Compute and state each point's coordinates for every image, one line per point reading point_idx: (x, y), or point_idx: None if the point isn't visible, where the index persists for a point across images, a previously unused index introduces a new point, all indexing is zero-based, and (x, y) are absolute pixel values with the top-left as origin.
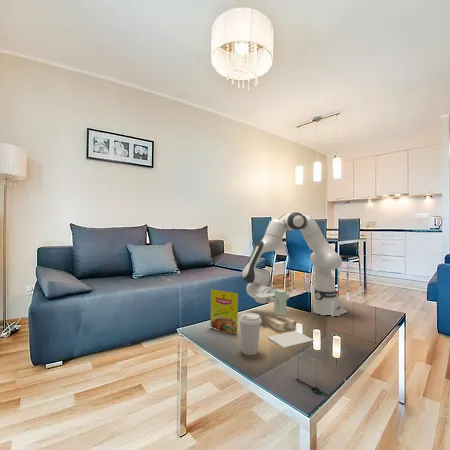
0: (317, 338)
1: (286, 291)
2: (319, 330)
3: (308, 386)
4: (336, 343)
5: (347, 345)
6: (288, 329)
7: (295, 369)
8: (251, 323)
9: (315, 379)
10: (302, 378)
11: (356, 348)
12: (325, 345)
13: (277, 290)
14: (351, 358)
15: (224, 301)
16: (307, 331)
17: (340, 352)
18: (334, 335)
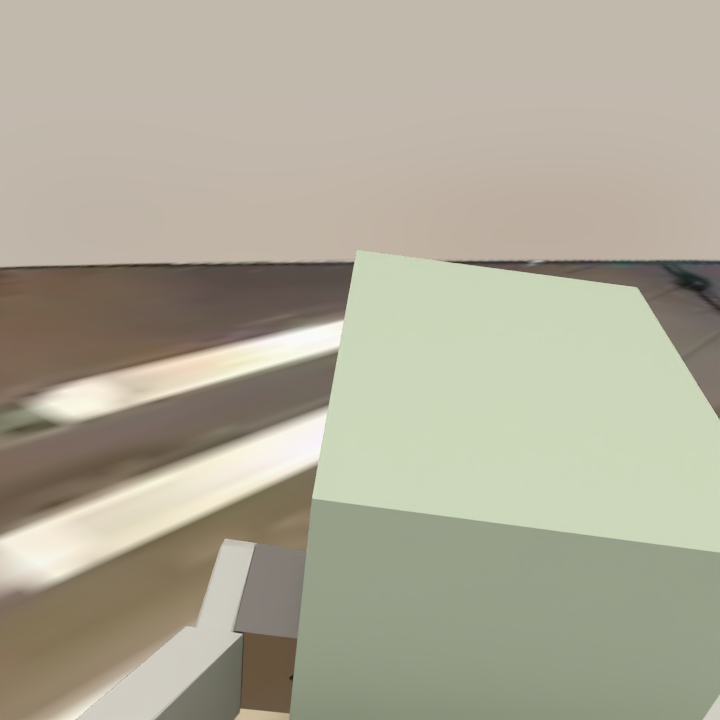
0: (251, 457)
1: (356, 253)
2: (9, 536)
3: (711, 297)
4: (216, 364)
5: (186, 329)
6: None
7: (712, 355)
8: None
9: (654, 300)
10: (710, 320)
11: (187, 300)
12: (320, 384)
13: (638, 446)
14: (341, 286)
15: None
16: (157, 588)
17: (328, 321)
18: (51, 418)
